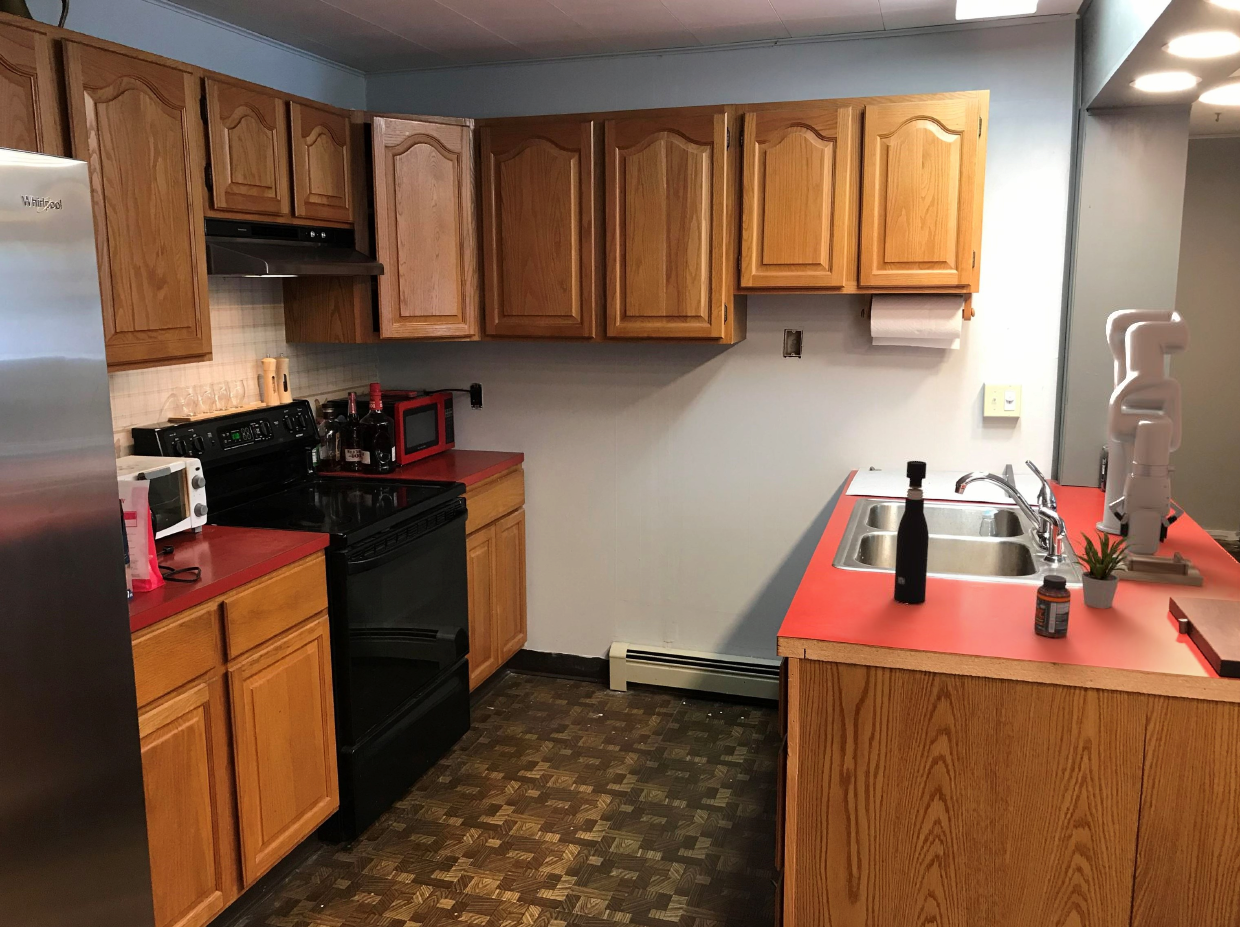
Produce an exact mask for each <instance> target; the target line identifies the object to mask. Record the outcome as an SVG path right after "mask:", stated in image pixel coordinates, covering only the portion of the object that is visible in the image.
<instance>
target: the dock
mask: <svg viewBox="0 0 1240 927" xmlns="http://www.w3.org/2000/svg"><path fill="white" fill-rule="evenodd" d="M1123 548H1124V547H1121V550H1122V549H1123ZM1108 553H1109V551H1108ZM1118 554H1119V552H1116V554H1114V555H1113V557H1116V556H1117V555H1118ZM1127 555H1132V556H1128V557H1126V558H1125V559H1123V560H1122V561H1123V562H1122V561H1121V562H1120V563H1119V564H1118V565H1120V566H1118V565H1117V567H1116V568H1122V569H1125V570H1126V572H1125V571H1121V570H1113V571H1112V572H1111V574H1114V575H1116V576H1118V577H1119V580H1125V581H1127V580H1128V581H1136V582H1137V581H1138V582H1150V583H1159V584H1170V585H1172V584H1173V585H1183V586H1192V587H1193V586H1194V587H1203V583H1204V577H1203V575H1202V574H1201V573H1200V571H1199V570H1198V569H1197V568H1196V566H1195V565H1194V564H1193V563H1192V561H1191V560H1190V558H1184V557H1183V556H1182V554H1181V553H1180V552H1178V551H1174V552H1173V557H1171V556H1159V555H1157V556H1156V555H1151V556H1149V555H1137V554H1132V553H1130V552H1129V551H1128V549H1126V550H1125V551H1124V552H1123V553H1122V554H1121V555H1120V556H1119V558H1122V557H1124V556H1127ZM1117 560H1119V559H1117ZM1121 564H1129V565H1130V568H1131V569H1130V568H1129V567H1128V566H1124V565H1121ZM1110 566H1111V565H1110ZM1110 566H1109V567H1110ZM1108 569H1109V568H1108ZM1114 569H1115V568H1114Z"/></svg>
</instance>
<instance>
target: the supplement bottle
mask: <svg viewBox="0 0 1240 927" xmlns="http://www.w3.org/2000/svg"><path fill="white" fill-rule="evenodd" d="M1042 583H1043V584H1041V585H1040V586H1039V587H1038V588H1037V592H1036V601H1035V602H1036V603H1035V612H1034V613H1035V614H1034V624H1033V626H1034V627H1033V628H1034V632H1035V633H1036V632H1037V634H1038V635H1040V636H1042V635H1043V636H1042V637H1045V636H1047V637H1046V638H1052V637H1054V638H1053V639H1058V638H1057V637H1061V638H1064V637H1066V636H1067V634H1068V630H1069V619H1070V617H1069V616H1070V606H1071V599H1072V598H1071V591H1070V590H1069V589H1068V588H1067V587H1066V586H1067V578H1066V577H1064V576H1062V575H1058V574H1046V575H1044V576H1043V581H1042Z"/></svg>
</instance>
